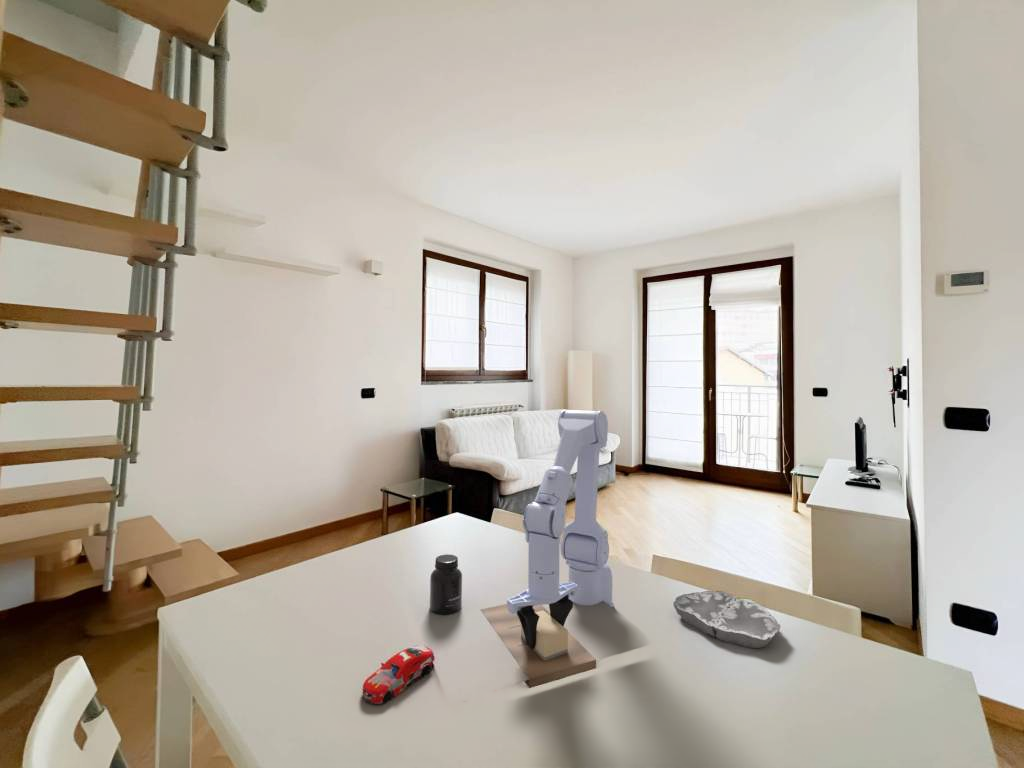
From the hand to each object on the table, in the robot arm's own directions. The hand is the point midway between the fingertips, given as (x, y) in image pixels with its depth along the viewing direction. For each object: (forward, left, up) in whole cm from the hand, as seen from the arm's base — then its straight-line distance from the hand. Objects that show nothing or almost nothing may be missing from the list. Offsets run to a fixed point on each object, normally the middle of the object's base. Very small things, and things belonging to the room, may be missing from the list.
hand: (543, 641), depth 82 cm
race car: (+26, -3, -3) cm, 26 cm away
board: (0, -5, -2) cm, 5 cm away
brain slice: (-40, +6, -3) cm, 41 cm away
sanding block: (0, 0, 0) cm, 1 cm away
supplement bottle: (+13, -21, -2) cm, 24 cm away
